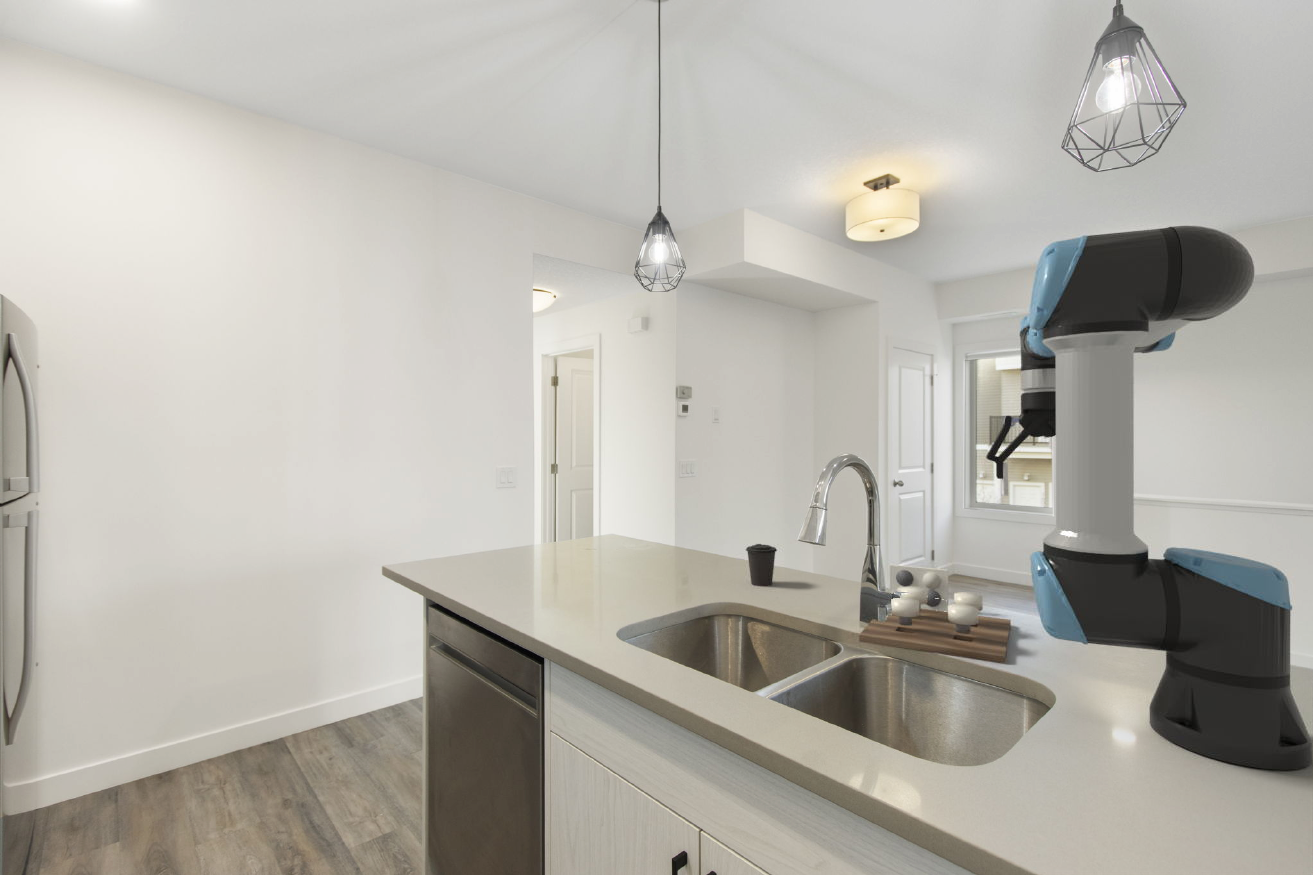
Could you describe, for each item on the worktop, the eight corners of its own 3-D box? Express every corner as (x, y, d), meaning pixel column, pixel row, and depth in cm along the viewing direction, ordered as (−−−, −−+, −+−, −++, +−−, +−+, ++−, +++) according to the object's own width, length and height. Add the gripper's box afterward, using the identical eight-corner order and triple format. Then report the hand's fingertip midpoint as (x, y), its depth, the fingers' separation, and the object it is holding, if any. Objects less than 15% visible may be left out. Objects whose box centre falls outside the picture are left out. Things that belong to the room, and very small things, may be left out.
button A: (977, 637, 112) (977, 613, 112) (946, 633, 115) (946, 609, 115) (979, 630, 117) (979, 606, 117) (949, 626, 119) (949, 602, 119)
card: (947, 612, 137) (947, 570, 137) (889, 605, 143) (889, 565, 143) (950, 607, 140) (949, 567, 140) (893, 600, 146) (893, 561, 146)
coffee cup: (760, 578, 170) (759, 541, 170) (783, 583, 164) (783, 545, 164) (739, 583, 165) (739, 545, 165) (763, 589, 159) (762, 549, 159)
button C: (981, 622, 121) (981, 600, 121) (953, 619, 124) (952, 596, 124) (983, 616, 125) (983, 594, 125) (955, 612, 128) (955, 591, 128)
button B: (917, 629, 118) (917, 605, 118) (889, 625, 120) (888, 602, 120) (921, 622, 122) (921, 599, 122) (894, 618, 124) (894, 596, 124)
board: (1005, 663, 106) (1005, 656, 106) (859, 640, 119) (859, 634, 119) (1010, 625, 127) (1010, 619, 127) (885, 609, 139) (885, 604, 139)
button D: (925, 615, 126) (925, 593, 126) (899, 612, 129) (898, 590, 129) (929, 609, 130) (929, 588, 130) (903, 606, 133) (903, 585, 133)
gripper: (1110, 390, 127) (1110, 495, 128) (972, 394, 137) (973, 492, 137) (1121, 387, 120) (1122, 499, 121) (975, 392, 130) (976, 495, 130)
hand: (1042, 495), depth 129 cm, fingers open, 13 cm apart
